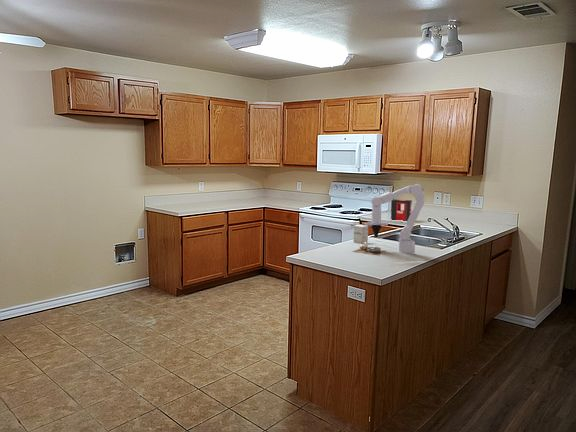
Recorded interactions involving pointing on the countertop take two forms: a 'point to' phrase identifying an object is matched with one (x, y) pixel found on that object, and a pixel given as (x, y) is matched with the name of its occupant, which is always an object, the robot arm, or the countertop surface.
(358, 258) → the countertop surface
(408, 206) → the cleaning product box
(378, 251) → the capstan dial
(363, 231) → the supplement box
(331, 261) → the countertop surface
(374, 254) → the stand base
